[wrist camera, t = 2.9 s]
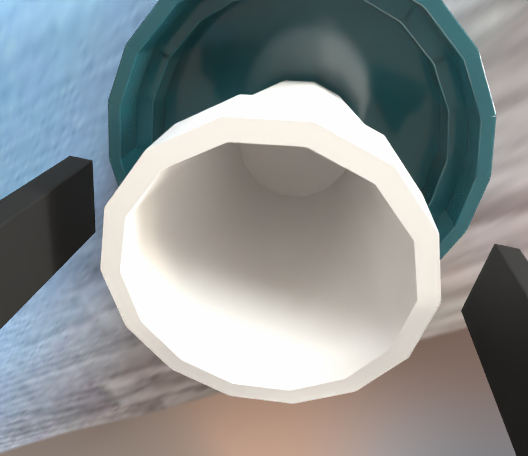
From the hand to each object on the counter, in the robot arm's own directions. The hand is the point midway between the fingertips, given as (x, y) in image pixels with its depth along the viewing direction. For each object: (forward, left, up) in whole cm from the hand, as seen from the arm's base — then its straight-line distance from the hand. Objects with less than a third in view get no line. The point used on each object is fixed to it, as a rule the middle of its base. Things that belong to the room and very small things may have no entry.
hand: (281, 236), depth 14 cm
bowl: (0, 0, -11) cm, 11 cm away
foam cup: (0, 0, -11) cm, 11 cm away
